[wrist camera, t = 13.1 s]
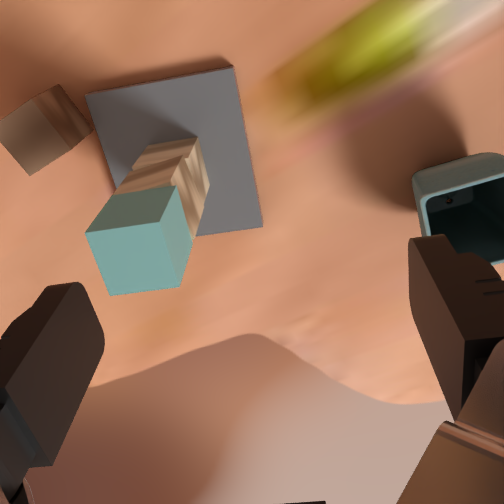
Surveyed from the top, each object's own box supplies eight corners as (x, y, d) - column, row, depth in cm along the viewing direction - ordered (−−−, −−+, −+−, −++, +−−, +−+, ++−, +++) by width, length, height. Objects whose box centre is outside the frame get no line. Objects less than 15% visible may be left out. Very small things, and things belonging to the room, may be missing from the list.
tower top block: (129, 171, 41) (108, 200, 36) (183, 155, 40) (169, 181, 35) (153, 221, 43) (136, 254, 38) (204, 206, 42) (194, 239, 37)
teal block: (112, 195, 36) (84, 232, 31) (176, 185, 35) (159, 221, 30) (132, 252, 38) (109, 295, 33) (192, 243, 38) (179, 287, 32)
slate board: (88, 92, 45) (84, 95, 44) (233, 65, 43) (232, 68, 42) (138, 239, 53) (135, 245, 52) (263, 221, 51) (262, 226, 50)
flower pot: (496, 211, 49) (537, 256, 42) (410, 234, 51) (434, 281, 43) (487, 132, 45) (532, 164, 38) (394, 160, 47) (418, 196, 39)
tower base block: (147, 145, 46) (131, 167, 41) (198, 136, 45) (188, 157, 40) (161, 192, 48) (148, 218, 43) (209, 185, 48) (201, 210, 43)
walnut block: (20, 111, 46) (-12, 128, 41) (59, 84, 45) (31, 98, 40) (55, 154, 48) (29, 176, 43) (93, 129, 47) (71, 149, 42)
